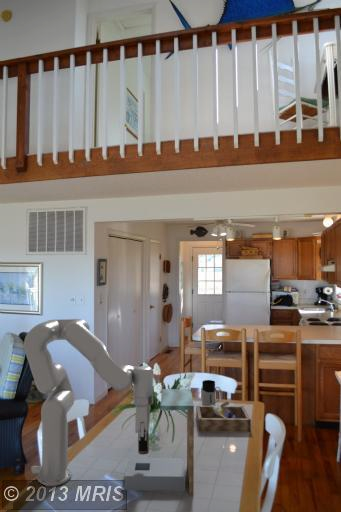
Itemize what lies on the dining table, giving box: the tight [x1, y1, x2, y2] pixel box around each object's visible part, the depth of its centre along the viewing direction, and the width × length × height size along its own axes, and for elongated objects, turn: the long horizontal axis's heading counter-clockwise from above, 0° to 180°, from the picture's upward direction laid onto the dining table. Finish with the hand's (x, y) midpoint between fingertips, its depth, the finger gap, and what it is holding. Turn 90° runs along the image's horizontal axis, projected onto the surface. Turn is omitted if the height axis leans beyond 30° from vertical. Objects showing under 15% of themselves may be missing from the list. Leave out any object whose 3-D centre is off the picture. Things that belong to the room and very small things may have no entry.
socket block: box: [124, 457, 186, 492], centre depth 149 cm, size 22×14×5 cm, turn 90°
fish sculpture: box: [211, 401, 236, 418], centre depth 204 cm, size 12×20×15 cm
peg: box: [137, 428, 150, 455], centre depth 150 cm, size 4×4×10 cm
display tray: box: [195, 405, 252, 433], centre depth 205 cm, size 26×20×6 cm
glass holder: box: [201, 379, 222, 406], centre depth 228 cm, size 9×14×15 cm, turn 38°
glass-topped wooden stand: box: [160, 388, 195, 496], centre depth 150 cm, size 12×20×32 cm, turn 0°
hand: (143, 447), depth 149 cm, fingers closed on peg, 4 cm apart
